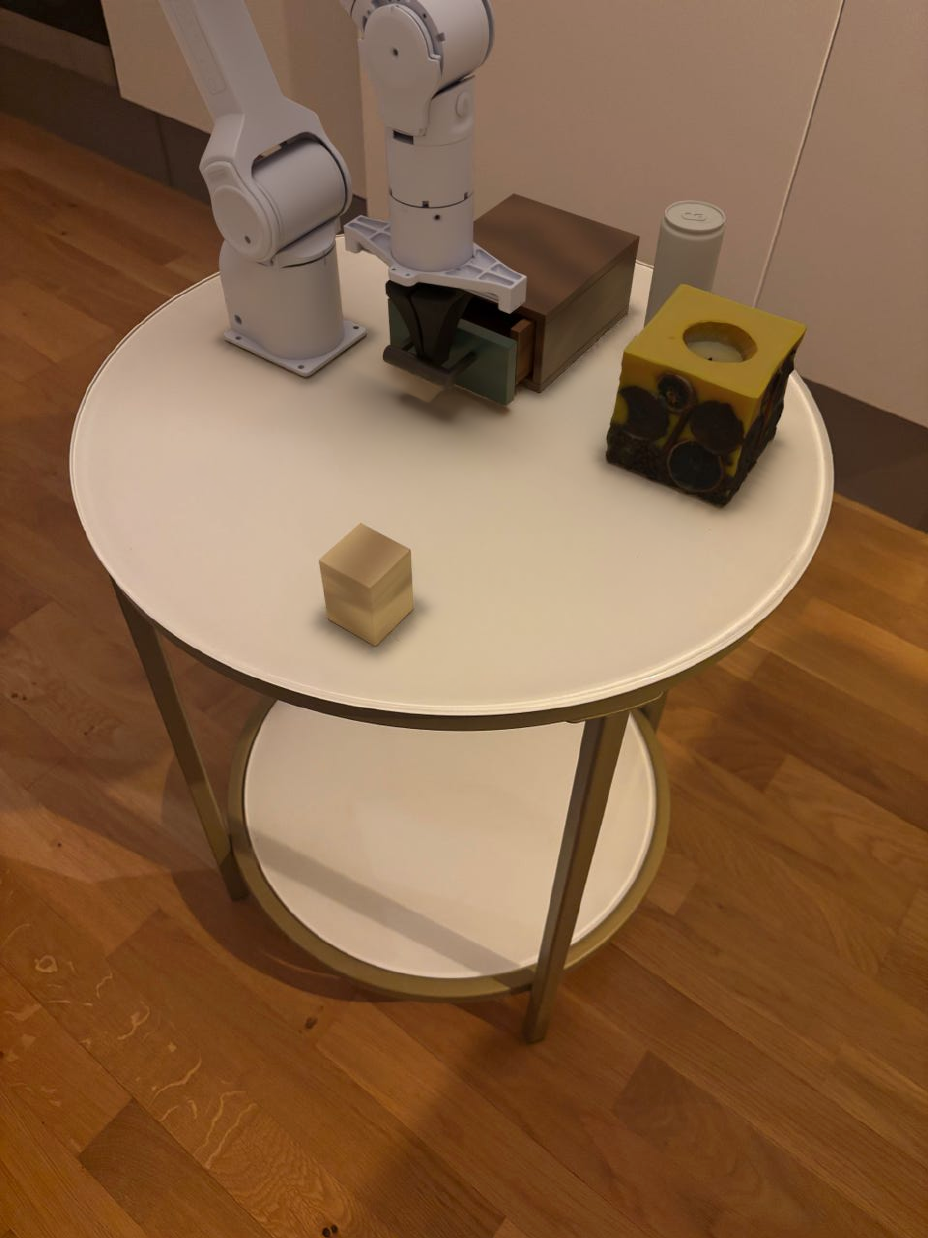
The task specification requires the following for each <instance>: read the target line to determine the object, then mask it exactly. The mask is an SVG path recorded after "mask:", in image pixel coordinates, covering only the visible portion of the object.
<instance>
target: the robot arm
mask: <svg viewBox="0 0 928 1238" xmlns="http://www.w3.org/2000/svg"><path fill="white" fill-rule="evenodd" d="M157 1H158V4H159V5H160V8H161V10H162V12H163V14H164V17H165V20H166V21H167V24H168V25H169V27H170V30H171V33H172V34H173V36H174V39H175V40H176V41H175V42H176V43H177V46H178V48H179V49H180V53H181V54H182V56H183V59H184V60H185V63H186V65H187V67H188V69H189V72H190V74H191V76H192V78H193V80H194V83H195V85H196V87H197V89H198V91H199V93H200V96H201V98H202V100H203V103H204V105H205V106H206V109H207V111H208V114H209V116H210V118H211V121H212V123H213V129H212V132H211V134H210V137H209V138H208V139H209V140H208V142H207V144H206V146H205V149H204V151H203V154H202V157H201V159H200V163H199V168H198V169H199V171H200V173H201V175H202V177H203V180H204V182H205V184H206V187H207V190H208V193H209V196H210V202H211V203H210V204H211V209H212V215H213V220H214V221H215V224H216V227H217V228H218V231H219V232H220V234H221V236H222V238H223V239H224V240H223V242H222V245H221V248H220V252H219V258H218V259H219V260H218V270H219V276H220V280H221V281H220V282H221V287H222V291H223V296H224V301H225V306H226V311H227V312H226V313H227V317H228V321H229V326H230V329H229V330H228V331H225V333H224V334H223V336H224V340H226V342H229V343H232V344H234V345H236V346H238V347H240V348H242V349H244V350H246V351H248V352H251V353H253V354H255V355H257V356H259V357H261V358H264V359H265V360H268V361H270V362H272V363H274V364H276V365H278V366H280V367H283V368H284V369H286V370H289V371H290V372H293V373H294V374H297V375H300V376H302V377H310V376H312V375H313V374H314V373H316V372H317V371H318V370H320V369H321V368H323V367H324V366H325V365H326V364H328V363H329V362H331V361H332V360H333V359H335V358H336V357H338V356H339V355H340V354H342V353H343V352H344V351H345V350H347V349H348V348H351V346H352V345H354V344H356V342H358V341H359V340H361V339H362V338H363V337H365V336H366V335H367V328H365V326H361V325H359V324H358V323H355V322H353V321H350V320H348V319H347V318H344V312H343V302H342V301H343V300H342V291H341V281H340V272H339V260H338V249H337V241H336V239H337V238H336V236H337V235H338V234H339V233H340V232H341V230H342V227H341V219H340V218H341V216H342V215H344V214H346V212H347V211H348V209H349V208H350V206H351V203H352V200H353V181H352V177H351V173H350V170H349V167H348V166H347V164H346V161H345V159H344V157H343V156H342V154H341V153H340V152H339V150H338V149H337V148H336V147H335V145H334V144H333V143H332V142H331V140H330V139H329V137H328V136H327V133H326V132H325V130H324V128H323V125H322V122H321V120H320V117H319V116H318V114H317V113H316V112H315V111H313V110H311V109H309V108H308V107H306V106H304V105H302V104H300V103H297V102H296V101H294V100H291V99H289V98H288V97H286V96H285V95H283V92H282V90H281V87H280V85H279V82H278V79H277V78H276V75H275V72H274V70H273V68H272V66H271V63H270V60H269V58H268V56H267V53H266V51H265V48H264V46H263V44H262V41H261V39H260V36H259V33H258V31H257V29H256V26H255V24H254V21H253V18H252V16H251V13H250V12H249V9H248V7H247V5H246V2H245V0H157ZM337 1H338V3H339V4H340V6H341V7H342V8H343V9H344V11H345V12H346V13H347V15H348V16H349V17H350V19H351V20H352V21H353V23H354V24H355V26H356V27H357V28H358V30H359V31H360V32H361V34H362V36H361V37H358V38H357V40H356V41H357V48H358V53H359V57H360V60H361V64H362V67H363V69H364V71H365V73H366V75H367V77H368V79H369V81H370V82H371V83H372V84H371V85H372V86H373V88H374V91H375V95H376V103H377V115H379V116H380V117H381V122H382V124H383V125H384V141H385V142H384V143H385V159H386V177H387V178H386V179H387V196H388V197H387V198H388V214H389V215H388V217H389V220H388V221H387V220H381V219H376V218H371V217H368V216H364V215H362V214H360V215H358V216H357V217H355V218H353V219H352V220H350V221H348V223H345V224H344V225H343V234H344V235H343V237H344V245H345V250H346V251H347V252H349V253H352V254H356V255H357V254H360V253H361V252H365V253H367V254H370V255H373V256H375V257H376V258H378V259H379V261H381V262H382V263H384V264H385V265H386V266H387V267H388V268H387V275H388V280H387V281H386V282H385V283H384V288H385V295H386V296H387V297H388V298H390V300H391V301H392V302H393V304H394V305H395V307H396V308H397V310H398V311H399V313H400V315H401V316H402V318H403V320H404V322H405V324H406V326H407V329H408V331H409V333H410V336H411V339H412V341H413V344H414V347H415V350H416V353H417V356H419V357H422V358H424V359H426V360H429V361H431V362H433V363H435V364H438V365H440V366H441V365H442V364H444V363H445V362H446V361H447V360H449V355H450V351H451V347H452V343H453V339H454V336H455V332H456V329H457V327H458V324H459V321H460V319H461V317H462V314H463V312H464V310H465V308H466V306H467V304H468V303H469V301H470V299H471V297H472V296H473V294H476V295H479V296H481V297H484V298H486V299H489V300H492V301H494V302H497V303H498V308H499V310H501V311H504V312H506V313H509V314H510V313H512V312H513V311H514V310H516V309H517V308H518V307H519V306H520V305H521V304H522V303H524V302H525V299H526V282H527V276H525V275H522V274H520V273H517V272H515V271H514V270H512V269H510V268H508V267H507V266H505V265H504V264H503V263H501V262H500V261H499V260H497V259H496V258H494V257H493V256H492V255H490V254H489V253H488V252H486V251H485V250H484V249H482V248H481V247H479V246H478V245H477V244H475V243H474V242H473V221H474V212H475V211H474V210H475V209H474V208H475V204H474V203H475V146H476V145H475V143H476V142H475V141H476V140H475V139H476V137H475V136H476V135H475V134H476V132H475V131H476V75H475V74H473V73H474V72H476V71H477V70H478V69H480V67H482V66H483V65H484V64H485V63H486V62H487V60H488V59H489V57H490V56H491V53H492V51H493V48H494V45H495V44H494V43H495V40H496V39H495V38H496V21H495V14H494V10H493V7H492V5H491V1H490V0H337ZM471 74H472V75H471ZM276 146H278V147H280V148H278V149H277V150H275V151H273V152H271V153H269V154H267V155H265V156H263V157H261V158H259V159H258V160H256V158H257V157H259V156H260V155H261V154H263V153H265V152H267V151H269V150H271V149H272V148H274V147H276ZM255 160H256V161H255Z"/></svg>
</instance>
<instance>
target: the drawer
mask: <svg viewBox="0 0 928 1238" xmlns="http://www.w3.org/2000/svg"><path fill="white" fill-rule="evenodd" d="M387 311H388V328H389V330H388V331H389V344H388V345H386V346H385V348H384V349H383V352H382V357H381V358H382V361H383V362H385V363H386V364H389V365H390V366H393V367H396V368H398V369H399V370H402V371H405V372H407V373H408V374H411V375H413V376H415V377H418V378H420V379H422V380H424V381H427V382H429V383H431V384H433V385H436V386H438V387H441V388H443V389H445V390H451V389H453V387H454V386H457V387H459V388H461V389H464V390H467V391H469V392H471V393H473V394H476V395H478V396H480V397H483V398H484V399H487V400H489V401H491V402H494V403H496V404H499V405H501V406H503V407H507V406H509V405H510V404H511V403H512V402H513V401H514V400H515V390H516V387H515V386H516V385H519V384H518V383H519V382H520V381H521V380H522V379H523V378H524V377H525V376H527V375H528V374H529V373H530V372H531V371H532V370H533V369H534V355H535V342H536V328H537V321H536V320H533V319H530V318H528V317H525V316H523V315H520V314H518V313H515V312H512V313H510V314H509V313H506V312H504V311H501V310H499V308H498V306H497V305H495V304H492V303H490V302H487V301H485V300H482V299H480V298H477V297H475V296H472V297H471V299H470V301H469V303H468V304H467V306H466V308H465V310H464V312H463V314H462V317H461V319H460V321H459V324H458V327H457V329H456V332H455V336H454V339H453V343H452V347H451V351H450V355H449V360H447V361H446V362H445V363H444V364H442V365H441V366H440V365H438V364H435V363H433V362H431V361H429V360H426V359H424V358H422V357H419V356H417V353H416V350H415V347H414V344H413V341H412V339H411V336H410V333H409V331H408V329H407V326H406V324H405V322H404V320H403V318H402V316H401V315H400V313H399V311H398V310H397V308H396V307H395V305H394V304H393V302H392V301H391V300H390V298H389V297H388V298H387Z"/></svg>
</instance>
